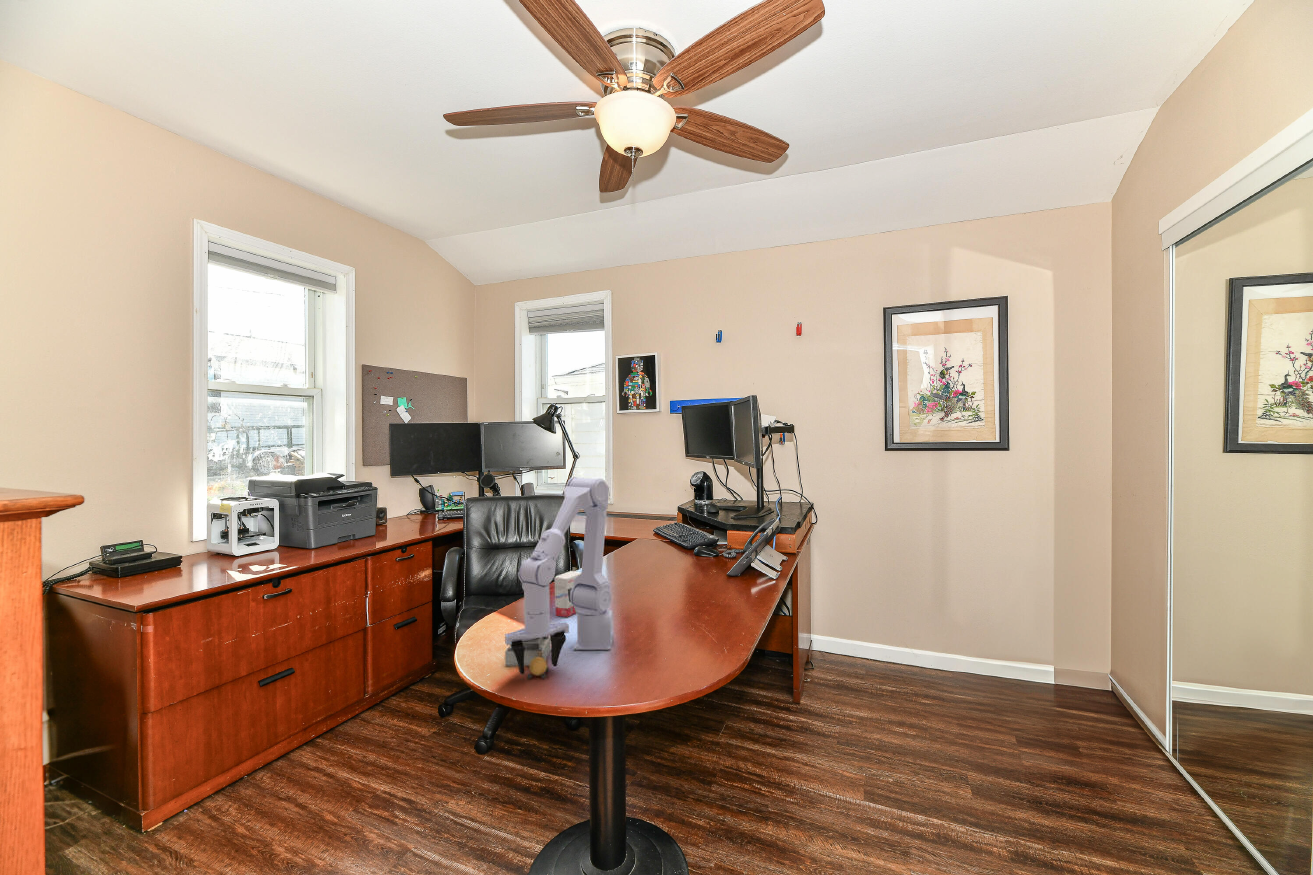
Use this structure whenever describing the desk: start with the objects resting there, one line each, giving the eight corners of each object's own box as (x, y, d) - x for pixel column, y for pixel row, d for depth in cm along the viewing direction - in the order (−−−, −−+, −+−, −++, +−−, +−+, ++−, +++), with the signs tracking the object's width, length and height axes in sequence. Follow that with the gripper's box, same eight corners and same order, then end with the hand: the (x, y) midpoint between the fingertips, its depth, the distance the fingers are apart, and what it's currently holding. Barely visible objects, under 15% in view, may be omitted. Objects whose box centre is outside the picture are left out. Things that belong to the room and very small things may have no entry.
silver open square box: (550, 649, 137) (550, 630, 136) (542, 665, 128) (542, 645, 127) (516, 650, 137) (515, 630, 137) (505, 665, 128) (505, 645, 128)
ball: (548, 670, 125) (548, 653, 125) (544, 678, 121) (544, 661, 121) (531, 670, 125) (531, 653, 125) (527, 678, 121) (527, 661, 121)
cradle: (548, 670, 125) (548, 667, 125) (544, 678, 121) (544, 675, 121) (531, 670, 125) (531, 667, 125) (527, 678, 121) (527, 675, 121)
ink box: (567, 618, 159) (566, 579, 159) (554, 615, 162) (553, 577, 161) (584, 609, 167) (584, 572, 166) (572, 606, 169) (571, 570, 169)
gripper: (561, 600, 130) (562, 655, 130) (501, 610, 123) (502, 668, 123) (571, 608, 124) (572, 666, 124) (508, 620, 117) (509, 681, 117)
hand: (538, 668), depth 123 cm, fingers open, 7 cm apart
